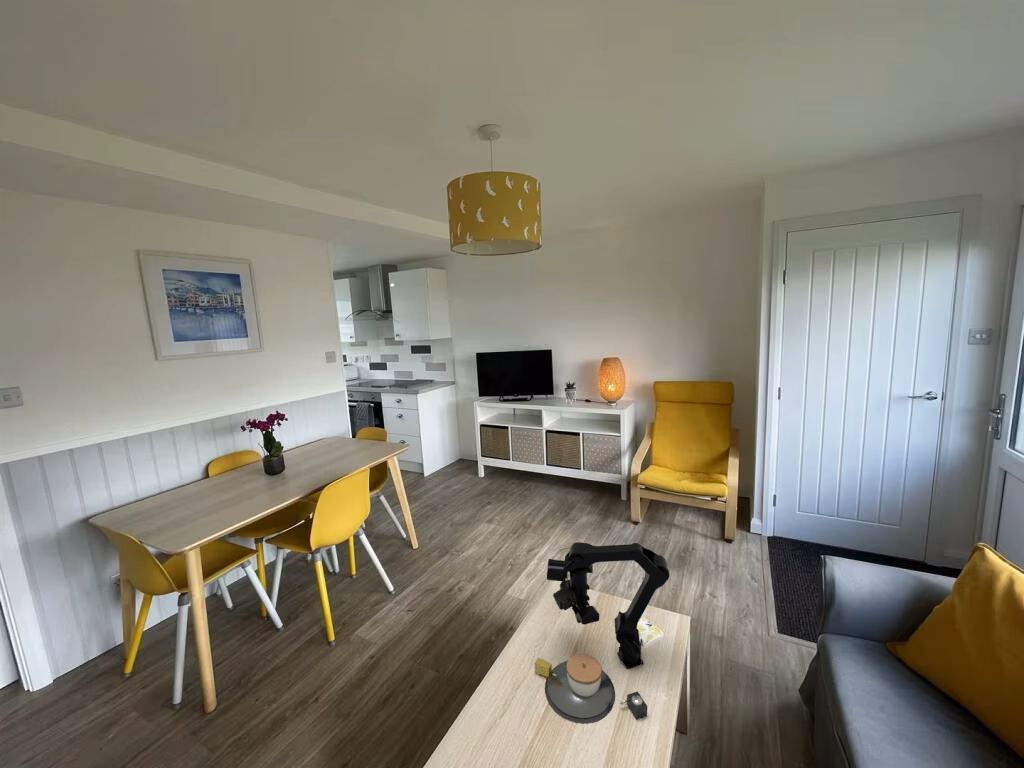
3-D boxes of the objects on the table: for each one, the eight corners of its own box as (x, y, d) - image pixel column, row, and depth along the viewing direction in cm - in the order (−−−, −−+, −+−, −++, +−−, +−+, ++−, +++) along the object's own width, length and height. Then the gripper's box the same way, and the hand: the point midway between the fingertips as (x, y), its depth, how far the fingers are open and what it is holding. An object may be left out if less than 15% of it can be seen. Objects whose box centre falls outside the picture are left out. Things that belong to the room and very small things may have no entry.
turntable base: (594, 653, 146) (594, 653, 146) (628, 710, 126) (628, 709, 126) (535, 671, 140) (535, 670, 140) (561, 733, 120) (561, 732, 120)
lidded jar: (573, 707, 127) (572, 679, 125) (562, 678, 137) (562, 652, 136) (607, 700, 129) (607, 673, 127) (594, 672, 139) (594, 646, 138)
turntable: (620, 676, 137) (620, 667, 136) (600, 731, 120) (600, 721, 119) (549, 647, 149) (549, 639, 148) (521, 693, 132) (521, 683, 132)
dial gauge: (637, 701, 129) (637, 690, 128) (647, 716, 124) (647, 705, 123) (618, 707, 127) (618, 696, 126) (627, 722, 122) (627, 712, 122)
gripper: (545, 570, 148) (546, 609, 151) (567, 605, 131) (568, 649, 134) (575, 563, 151) (575, 602, 154) (600, 597, 134) (600, 640, 137)
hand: (578, 622), depth 145 cm, fingers closed
